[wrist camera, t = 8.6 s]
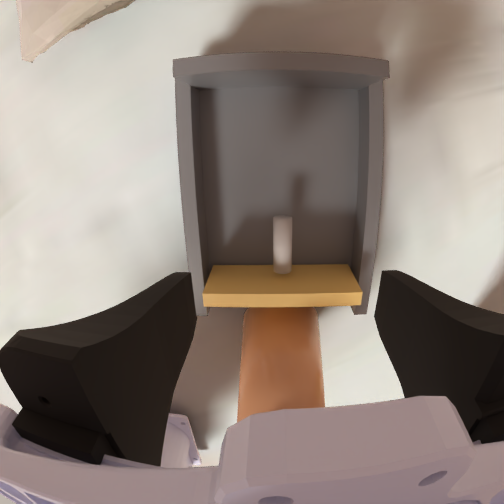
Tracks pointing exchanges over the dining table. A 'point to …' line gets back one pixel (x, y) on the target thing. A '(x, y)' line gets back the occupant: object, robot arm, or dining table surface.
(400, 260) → the dining table surface
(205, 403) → the dining table surface
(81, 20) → the packaged product
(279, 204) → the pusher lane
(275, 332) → the jar
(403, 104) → the dining table surface
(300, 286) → the tan pusher block
